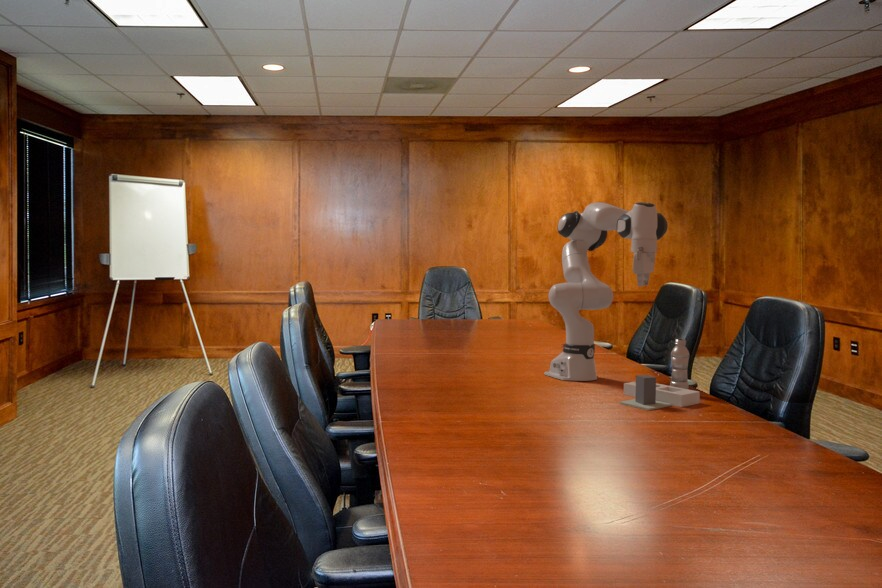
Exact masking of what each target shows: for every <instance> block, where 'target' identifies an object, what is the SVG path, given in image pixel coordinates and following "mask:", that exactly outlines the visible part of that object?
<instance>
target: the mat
mask: <svg viewBox="0 0 882 588" xmlns="http://www.w3.org/2000/svg"><path fill="white" fill-rule="evenodd" d="M619 405H624V406H629V407H632V408H637V409H641V410H646V411H652V410H658V409H662V408H669V407H671V406H673V405H672V404H669V403H665V402H660V401H656V404H649V405H643V404H640V403H638V402H635V398H633V399H628V400H623V401H622V400H621V401H619Z"/></svg>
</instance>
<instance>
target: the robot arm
mask: <svg viewBox="0 0 882 588" xmlns="http://www.w3.org/2000/svg"><path fill="white" fill-rule="evenodd" d="M657 211H658V210H657V206H656V205H655V204H654V203H651V202H635V203H634V204H633V206H632V208H631V210H627V209H625V208H624V209H623V208H621V207H618V206H616V205H613V204H610V203H607V202H600V201H599V202H597V201H596V202H592V203H589V204H588V205H586V207H585V208H584V210H583V212H580V213H579V211H578V210H574V211H573V212H567V213H565V214H563V215H562V216H561V217H560V219H558V220H559V221H558V222H557V229H556V230H557V233H558V234H559V235H560V236H561V237H563V238H567V239H569V240H570V241H568V242H565V244H564V246H563V248H562V252H561V265H562V273H563V278H564V280H565V281H566V282H560V283H556V284H552V286H551V287H550V289H549V291H548V294H547V296H548V301H549V304H550V305H551V306H552V307H553V308H554V309H555V310H556V311H557V312H559V314H560V316H561V317H562V320H563V322H564V324H565V325H564V326H565V343H564V344H563V343H562V344H561V348H562V352H560V353H559V354H558V355H557V356H555V357H554V358H553V359H552V360H550V361H551V362H550V364H549V366H550V367H549V370H546V371H545V372H543V374H544V375H545V376H547V377H551V378H555V379H558V380H561V381H576V382H577V381H578V382H579V381H580V382H583V381H584V382H585V381H586V382H589V381H595V380H598V376H597V371H596V370H597V369H596V363H595V361H596V360H595V352H596V350H595V349H596V347H595V346H596V345H595V343H594V342H595V327H594V324H593V323H592V322H591V320H589V319H586V317H583V316H581V315H580V311H581V310H586V311H587V310H588V311H589V310H590V311H592V310H593V311H595V310H603V309H607V308H609V307H610V306H611V305H612V303H613V300H614V291H613V290H612V288H611V286H609V285H608V284H606V283H604V282H603V281H601V280H599V279H598V278H597V277H596V276H595V275H594V274H593V273H592V271H591V267H590V261H589V257H588V252H593V251H595V250H596V249H598V248H600V247H601V246H603V245H604V244H605V242H606V241H607V239H608V231H617V233H618V235H619V236H620V237H621V238H622V239H627V240H628V239H629V240H631V242H630V243H631V244H630V245H631V246H630V247H631V248H630V253H633V257H632V258H633V261H632V272H633V274H634V275H635V274H636V281H637V287H644V286H649V285H650V284H649V281H650V277H651V276H650V274H651V273H654V269H655V264H656V263H655V262H656V254H657V253H658V246H657V245H658V241H659V240H661V239H662V238H663V237H664V236H665V235H666V233H667V232H668V228H669V227H668V221H667V219H666V218H665V216H664V215H663V214H662V213H661V212H657Z"/></svg>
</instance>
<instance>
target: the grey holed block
mask: <svg viewBox="0 0 882 588" xmlns="http://www.w3.org/2000/svg"><path fill="white" fill-rule="evenodd" d="M700 394H701V391H698V390H693V389H683V388H678V387H673V386H670V385H666V384H663V383H662V384H660V383H657V382H656V401H660V402H665V403H669V404H672V406H673V407H674V406H675V407H679V408H684V407H689V406H693V405H698V404H700V400H701V399H700V397H701V396H700ZM623 395H625V396H629V397H633V398H635V397H636V381H631V382H624V383H623Z"/></svg>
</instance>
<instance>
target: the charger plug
mask: <svg viewBox="0 0 882 588" xmlns="http://www.w3.org/2000/svg"><path fill="white" fill-rule="evenodd" d="M635 382H636V397H634V399H635V402H638V403H640V404H643V405H649V404H656V383H657V377H656V376H653V375H649V374H637V375H635Z"/></svg>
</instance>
